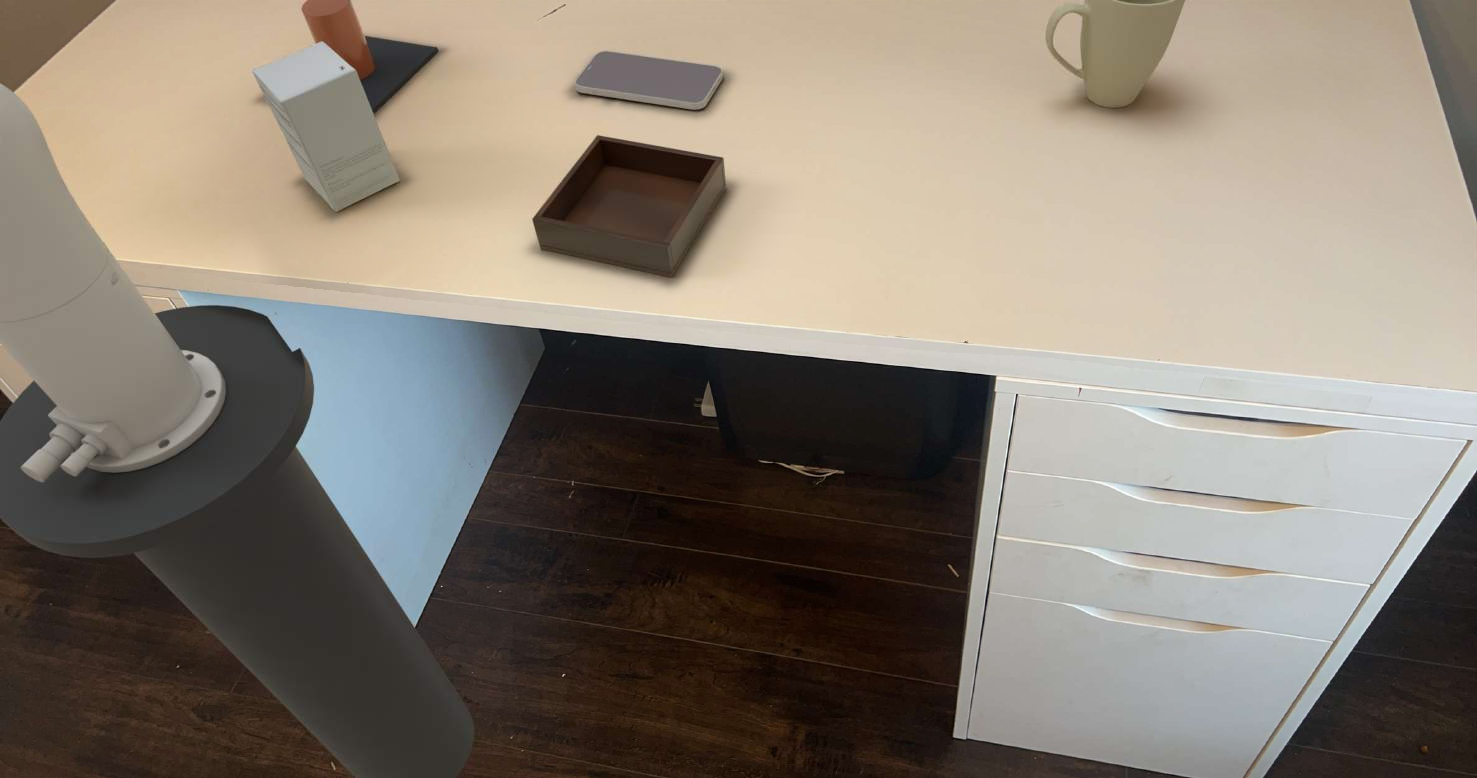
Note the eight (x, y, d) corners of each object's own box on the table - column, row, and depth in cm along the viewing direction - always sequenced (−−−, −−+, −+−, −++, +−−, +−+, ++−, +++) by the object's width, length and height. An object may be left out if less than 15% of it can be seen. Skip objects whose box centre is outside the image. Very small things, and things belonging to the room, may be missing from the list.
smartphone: (701, 105, 103) (571, 85, 106) (702, 112, 103) (572, 92, 107) (725, 66, 107) (599, 49, 111) (726, 74, 108) (600, 56, 112)
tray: (671, 277, 87) (667, 247, 84) (540, 248, 91) (531, 219, 88) (726, 187, 95) (723, 157, 92) (603, 164, 99) (597, 134, 96)
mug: (1086, 57, 105) (1110, -54, 96) (1173, 89, 101) (1208, -25, 92) (1028, 104, 101) (1048, -9, 92) (1117, 140, 96) (1148, 24, 87)
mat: (369, 118, 107) (367, 114, 106) (265, 98, 111) (263, 94, 110) (438, 50, 115) (437, 47, 115) (339, 35, 119) (338, 31, 119)
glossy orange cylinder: (357, 86, 110) (331, 18, 104) (319, 79, 112) (291, 12, 106) (384, 61, 113) (359, -6, 107) (347, 55, 115) (320, -11, 109)
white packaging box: (370, 150, 103) (324, 37, 93) (402, 182, 99) (357, 68, 89) (303, 180, 100) (248, 68, 90) (333, 215, 96) (279, 101, 86)
